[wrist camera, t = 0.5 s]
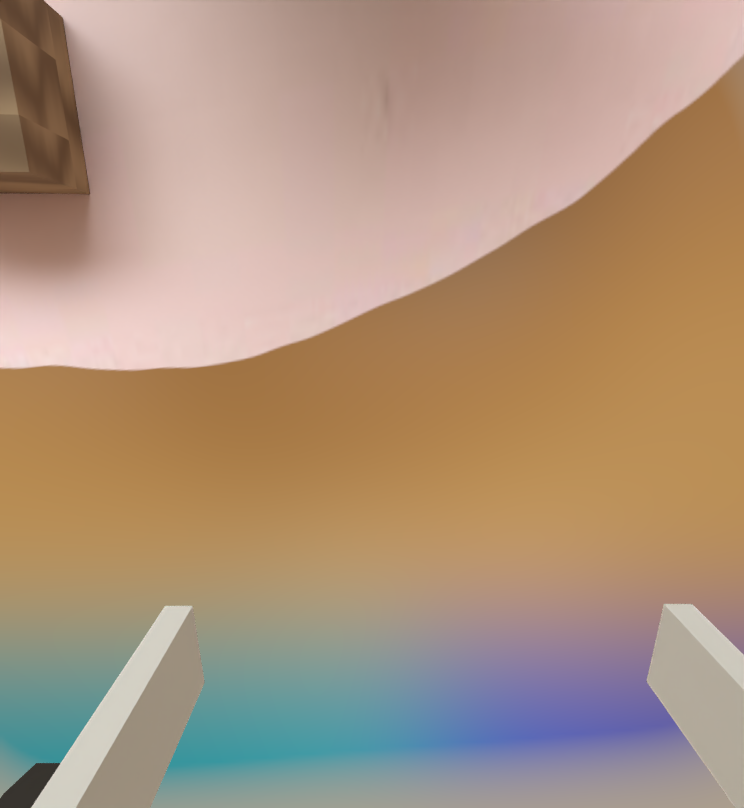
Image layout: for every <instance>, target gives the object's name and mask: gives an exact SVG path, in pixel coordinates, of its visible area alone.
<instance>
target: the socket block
mask: <svg viewBox="0 0 744 808" xmlns="http://www.w3.org/2000/svg"><path fill="white" fill-rule="evenodd" d="M0 193H51V194H90V192H89V185H88V179H87V172H86V166H85V160H84V153H83V147H82V140H81V134H80V128H79V121H78V115H77V108H76V102H75V96H74V89H73V83H72V76H71V70H70V64H69V57H68V51H67V44H66V38H65V31H64V25H63V19H62V17H61V16H60V15H59V14H58V13H57V12H56V11H55V10H54V9H52V8H51V7H50V6H49V5H48V4H47V3H46V2H45V1H44V0H0Z"/></svg>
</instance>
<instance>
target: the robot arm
mask: <svg viewBox="0 0 744 808" xmlns="http://www.w3.org/2000/svg"><path fill="white" fill-rule="evenodd" d="M647 683H648V684H649V685H650V687H651V688H652V690H653V691H654V693H655V694H656V695H657V697H658V698H659V700H660V701H661V703H662V704H663V705H664V707H665V708H666V710H667V711H668V713H669V714H670V715H671V717H672V718H673V720H674V721H675V723H676V724H677V725H678V727H679V728H680V730H681V731H682V733H683V734H684V735H685V737H686V738H687V740H688V741H689V743H690V744H691V745H692V747H693V748H694V750H695V751H696V753H697V754H698V755H699V757H700V758H701V760H702V761H703V762H704V764H705V765H706V767H707V768H708V770H709V771H710V773H711V774H712V775H713V777H714V778H715V779H716V781H717V782H718V784H719V785H720V787H721V788H722V790H723V791H724V793H725V794H726V795H727V797H728V798H729V800H730V801H731V803H732V804H733V805H734V807H735V808H744V655H743V654H742V653H741V652H740V651H739V650H738V649H737V648H736V647H735V646H734V645H733V644H732V643H731V642H730V641H729V640H728V639H727V638H726V637H725V636H724V635H723V634H722V633H721V632H720V631H719V630H718V629H717V628H716V627H715V626H714V625H713V624H712V623H711V622H710V621H709V620H708V619H707V618H705V617H704V616H703V615H702V614H701V613H700V612H699V611H698V610H697V609H696V608H695V607H694V606H693V605H692V604H664V607H663V611H662V615H661V620H660V624H659V629H658V633H657V637H656V642H655V647H654V651H653V655H652V660H651V664H650V668H649V673H648V677H647ZM203 685H204V676H203V670H202V663H201V657H200V651H199V644H198V638H197V632H196V625H195V619H194V613H193V607H192V606H165V607H164V609H163V610H162V612H161V614H160V615H159V616H158V618H157V619H156V621H155V622H154V624H153V625H152V627H151V629H150V630H149V631H148V633H147V634H146V636H145V637H144V639H143V640H142V642H141V643H140V645H139V646H138V648H137V649H136V651H135V652H134V654H133V655H132V657H131V658H130V660H129V661H128V663H127V664H126V666H125V668H124V669H123V670H122V672H121V673H120V675H119V676H118V678H117V679H116V681H115V682H114V684H113V685H112V687H111V689H110V690H109V691H108V693H107V695H106V696H105V698H104V699H103V700H102V702H101V703H100V705H99V706H98V708H97V709H96V711H95V712H94V714H93V715H92V717H91V719H90V720H89V721H88V723H87V724H86V726H85V727H84V729H83V731H82V732H81V734H80V735H79V736H78V738H77V739H76V741H75V743H74V744H73V746H72V747H71V749H70V750H69V752H68V753H67V755H66V756H65V758H64V759H63V761H62V762H61V763H36V764H35V765H34V766H33V767H32V768H31V769H30V770H29V771H28V772H26V773H25V774H24V775H23V776H22V777H21V778H20V779H19V780H18V781H17V782H16V783H15V784H14V785H13V786H12V787H10V788H9V789H8V790H7V791H6V792H5V793H4V794H3V795H2V797H1V798H0V808H150V807H151V804H152V802H153V800H154V798H155V795H156V793H157V791H158V788H159V786H160V784H161V781H162V779H163V777H164V774H165V772H166V770H167V768H168V765H169V763H170V761H171V758H172V756H173V754H174V751H175V749H176V747H177V745H178V742H179V740H180V738H181V735H182V733H183V731H184V728H185V726H186V724H187V722H188V719H189V717H190V715H191V712H192V710H193V708H194V705H195V703H196V701H197V698H198V696H199V694H200V692H201V689H202V687H203Z"/></svg>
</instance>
